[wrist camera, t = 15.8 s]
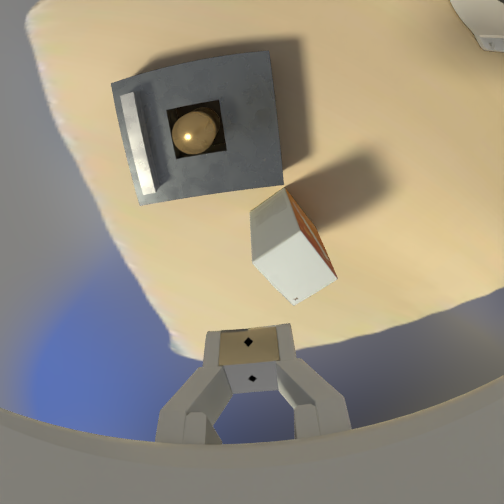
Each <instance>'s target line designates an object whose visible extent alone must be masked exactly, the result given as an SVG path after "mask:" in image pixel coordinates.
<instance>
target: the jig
mask: <svg viewBox="0 0 504 504" xmlns="http://www.w3.org/2000/svg"><path fill="white" fill-rule="evenodd" d="M111 87H112V92H113V97H114V103H115V108H116V113H117V117H118V122H119V127H120V131H121V136H122V140H123V144H124V148H125V152H126V157H127V161H128V164H129V168H130V172H131V176H132V180H133V183H134V187H135V191H136V194H137V198H138V201H139V205H140V206H142V205H147V204H153V203H159V202H164V201H170V200H176V199H182V198H189V197H195V196H202V195H208V194H215V193H222V192H230V191H237V190H245V189H253V188H261V187H270V186H278V185H284V182H283V171H282V160H281V150H280V140H279V130H278V121H277V112H276V103H275V95H274V86H273V78H272V70H271V62H270V55H269V51H259V52H249V53H241V54H233V55H226V56H219V57H213V58H208V59H202V60H197V61H192V62H187V63H182V64H178V65H173V66H169V67H165V68H161V69H157V70H153V71H150V72H146V73H142V74H139V75H136V76H132V77H129V78H126V79H123V80H120V81H117V82H114V83H111ZM215 100H219V102H220V109H221V115H222V122H223V128H224V135H225V141H226V143H221V144H214V145H210V147H209V148H208V149H207V150H205V151H204V152H202V153H199V154H187V153H184V152H182V151H181V150H179V149H178V148H177V147H176V145H175V144H174V141H173V138H172V130H173V127H174V124H175V123H176V121H177V120H178V116H177V111H176V108H177V107H182V106H187V105H192V104H197V103H203V102H209V101H215Z"/></svg>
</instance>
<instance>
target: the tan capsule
mask: <svg viewBox="0 0 504 504" xmlns="http://www.w3.org/2000/svg"><path fill="white" fill-rule="evenodd" d="M219 128H220V119H219V116H218V115H217V113H216V112H215V111H214V110H212V109H210V108H206V107H201V108H197V109H195V110H193V111H191V112H189V113H188V114H186V115H184V116H182V117H181V118H179V119H178V120H177V121H176V123H175V124H174V127H173V130H172V138H173V141H174V144H175V145H176V147H177V148H178V149H179V150H181V151H182V152H184V153H187V154H199V153H202V152H204V151H205V150H207V149H208V148H209V147H210V145H211V144H212V142H213V140H214V138H215V136H216V134H217V132H218V130H219Z"/></svg>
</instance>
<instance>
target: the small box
mask: <svg viewBox="0 0 504 504" xmlns="http://www.w3.org/2000/svg"><path fill="white" fill-rule="evenodd" d="M250 230H251V249H252V263H253V265H254V266H255V267H256V268H257V269H258V270H259V271H260V272H261V273H262V274H263V275H264V276H265V278H266V279H267V280H268V281H269V282H270V283H271V284H272V285H273V286H274V288H275V289H277V290H278V291H279V292H280V293H281V294H282V295H283V296H284V297H285V298H286V299H287V300H288V301H289V302H290V303H291V304H292V305H293V306H294V305H296V304H298V303H299V302H301V301H303V300H305V299H306V298H308V297H310V296H311V295H313V294H315V293H316V292H318V291H319V290H321V289H323V288H324V287H326V286H328V285H329V284H331V283H332V282H334V281H335V280H337V279H338V278H337V275H336V273H335V271H334V268H333V266H332V264H331V261H330V259H329V257H328V254H327V252H326V250H325V247H324V245H323V243H322V241H321V238H320V236H319V234H318V231H317V229H316V227H315V226H314V224H313V223H312V222H311V221H310V219H309V218H308V217H307V216H306V214H305V213H304V212H303V210H302V209H301V208H300V207H299V205H298V204H297V203H296V201H295V200H294V199H293V197H292V196H291V195H290V193H289V192H288V191H287V189H286V188H285V187H284V188H282V189H281V190H280V191H278V192H277V193H276V194H274V195H273V196H271V197H270V198H269V199H267V200H266V201H264V202H263V203H262V204H260V205H259V206H257V207H256V208H255V209H253V210H252V211H251V212H250Z"/></svg>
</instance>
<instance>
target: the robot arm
mask: <svg viewBox="0 0 504 504" xmlns="http://www.w3.org/2000/svg"><path fill="white" fill-rule="evenodd" d="M450 2H451V4H452V6H453V8H454V9H455V11H456V13H457V14H458V16H459V17H460V18H461V20H462V21H463V22H464V23H465V25H466V26H467V27H468V28H469V29H470V30H471V31H472V32H473V34H474V35H475V37H476V39H477V41H478V43H479V45H480V47H481V48H482V49H483V50H485V51H495V52H504V0H450ZM489 44H490V45H489ZM270 390H279V392H280V393H281V394H282V395H283V396H284V398H285V399H286V400H287V401H288V402H289V404H290V405H291V406H292V407H293V408H294V435H295V439H293V440H285V441H276V442H263V443H249V444H222V441H221V439H220V438H219V436H218V434H217V433H216V431H215V429H214V428H213V425H214V423H215V422H216V420H217V419H218V417H219V416H220V414H221V413H222V411H223V410H224V408H225V406H226V405H227V403H228V402H229V400H230V399H231V397H232V396H233V395H232V394H236V393H247V392H257V391H270ZM0 504H504V375H503V376H501V377H499V378H497V379H495V380H493V381H491V382H489V383H487V384H485V385H483V386H481V387H479V388H477V389H475V390H472V391H470V392H468V393H466V394H463V395H461V396H458V397H456V398H454V399H451V400H449V401H446V402H443V403H441V404H438V405H436V406H433V407H430V408H427V409H424V410H421V411H418V412H415V413H412V414H409V415H406V416H403V417H400V418H396V419H392V420H389V421H385V422H381V423H378V424H374V425H370V426H365V427H361V428H357V429H352V428H351V424H350V420H349V416H348V411H347V407H346V403H345V399H344V397H343V396H342V395H341V394H340V393H339V392H338V391H336V390H335V389H334V388H333V387H332V386H331V385H330V384H329V383H327V382H326V381H325V380H324V379H323V378H322V377H321V376H320V375H318V374H317V373H316V372H315V371H314V370H313V369H312V368H311V367H310V366H308V365H307V364H306V363H305V362H304V361H303V360H302V359H301V358H299V359H296V352H295V346H294V340H293V335H292V329H291V325H290V323H288V324H281V325H272V326H264V327H256V328H249V329H236V330H221V331H208V332H207V334H206V341H205V350H204V359H203V367H199V368H198V369H197V370H196V371H195V372H194V373H193V374H192V376H191V377H190V378H189V379H188V380H187V381H186V382H185V384H184V385H183V386H182V387H181V388H180V389H179V390H178V391H177V393H176V394H175V395H174V396H173V397H172V398H171V399H170V400H169V401H168V403H167V404H166V405H165V406H164V407H163V408H162V409H161V410H160V414H159V420H158V426H157V432H156V439H155V442H147V441H138V440H129V439H122V438H115V437H109V436H103V435H97V434H92V433H87V432H82V431H77V430H73V429H68V428H64V427H60V426H56V425H52V424H49V423H45V422H41V421H38V420H35V419H32V418H28V417H25V416H22V415H19V414H16V413H13V412H11V411H8V410H5V409H2V408H0Z"/></svg>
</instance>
